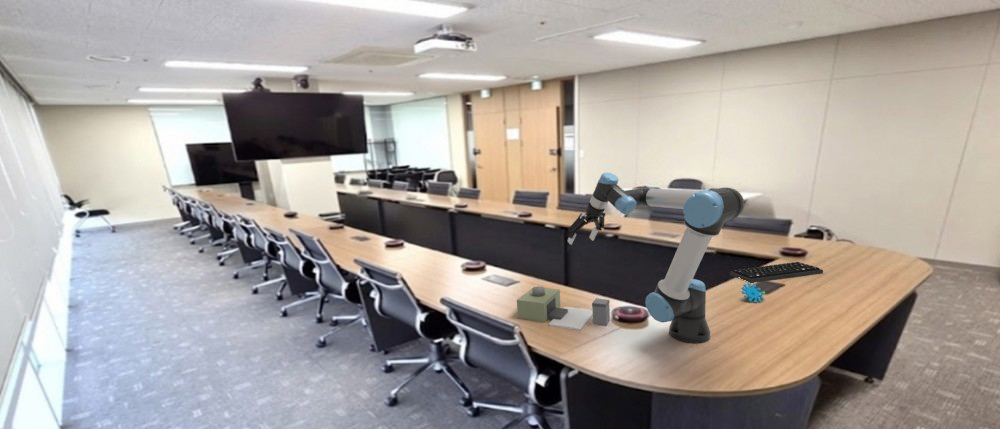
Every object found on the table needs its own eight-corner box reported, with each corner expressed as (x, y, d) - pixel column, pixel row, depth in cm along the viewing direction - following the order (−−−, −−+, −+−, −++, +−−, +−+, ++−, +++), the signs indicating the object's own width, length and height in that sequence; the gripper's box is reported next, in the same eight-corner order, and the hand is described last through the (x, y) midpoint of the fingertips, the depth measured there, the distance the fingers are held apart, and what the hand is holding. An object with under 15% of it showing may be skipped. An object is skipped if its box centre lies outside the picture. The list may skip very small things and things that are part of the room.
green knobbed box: (595, 311, 199) (594, 287, 197) (580, 330, 179) (579, 303, 177) (535, 303, 215) (533, 281, 213) (515, 320, 195) (513, 296, 193)
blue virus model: (746, 300, 194) (739, 281, 200) (739, 306, 199) (733, 287, 205) (769, 302, 194) (762, 283, 200) (762, 307, 199) (756, 288, 205)
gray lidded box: (610, 320, 187) (609, 299, 185) (606, 326, 182) (605, 304, 180) (596, 319, 190) (595, 298, 188) (592, 324, 185) (591, 302, 183)
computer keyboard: (750, 284, 222) (750, 277, 221) (729, 276, 237) (729, 269, 237) (822, 274, 229) (823, 267, 229) (797, 267, 245) (798, 260, 244)
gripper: (612, 197, 193) (595, 232, 205) (570, 202, 180) (555, 239, 192) (622, 207, 188) (604, 242, 200) (580, 212, 175) (564, 249, 187)
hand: (580, 240), depth 196 cm, fingers open, 13 cm apart
